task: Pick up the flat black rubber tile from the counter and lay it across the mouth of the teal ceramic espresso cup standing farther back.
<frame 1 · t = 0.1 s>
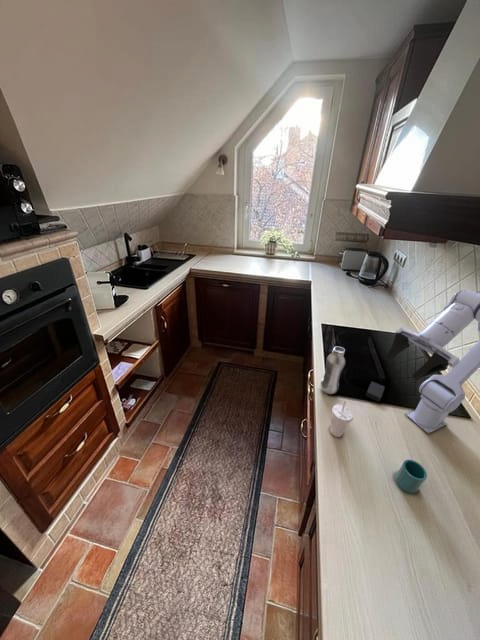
hand: (399, 368, 63), 32 cm above the worktop, tool tilted 50°, fingers open, 7 cm apart
plastic bottle: (328, 390, 100), on the worktop
black tile: (374, 393, 99), on the worktop
teal cup: (406, 483, 70), on the worktop
smoothie: (336, 432, 83), on the worktop
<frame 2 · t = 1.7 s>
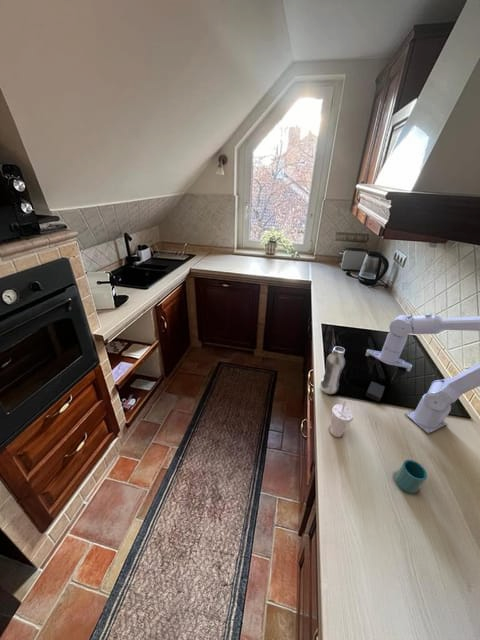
hand: (380, 377, 95), 8 cm above the worktop, tool pointing down, fingers open, 7 cm apart
nothing on the worktop moved.
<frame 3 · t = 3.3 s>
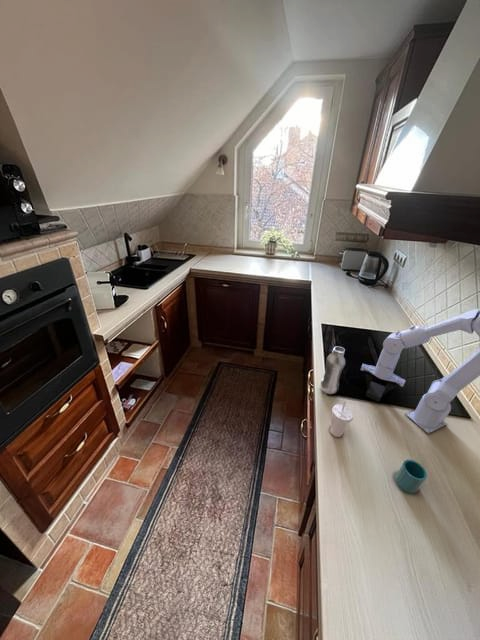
hand: (375, 390, 98), 1 cm above the worktop, tool pointing down, fingers closed on black tile, 5 cm apart
black tile: (374, 393, 99), on the worktop, touching gripper
everything else where it was.
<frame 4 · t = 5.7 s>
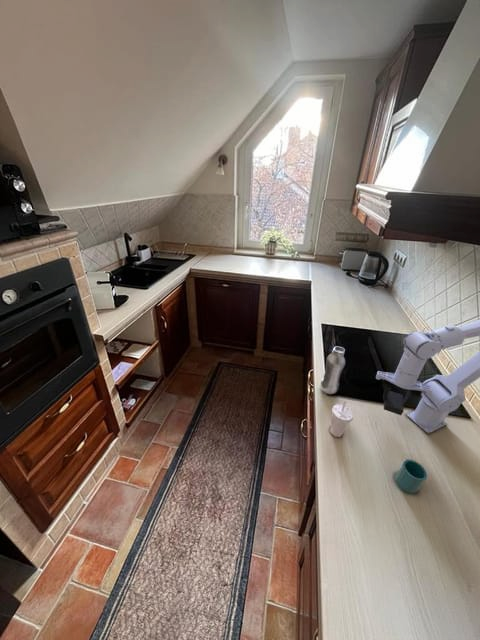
hand: (393, 401, 82), 10 cm above the worktop, tool pointing down, fingers closed on black tile, 5 cm apart
black tile: (392, 404, 83), point 9 cm above the worktop, touching gripper
everything else where it was.
when the fingers open (8 cm above the worktop, at t = 8.3 s): black tile stays where it is, resting on teal cup.
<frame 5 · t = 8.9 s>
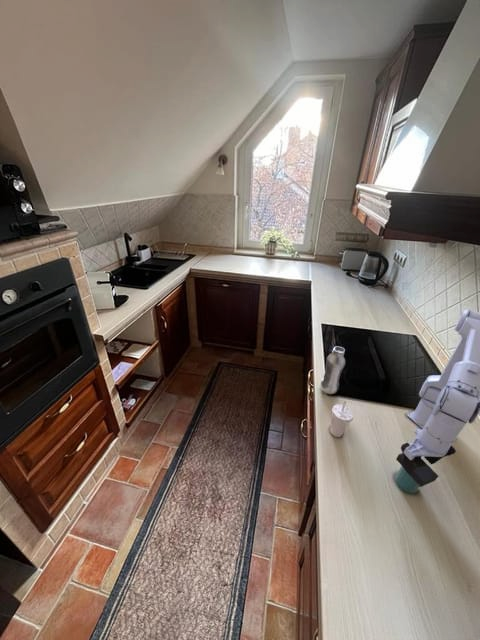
hand: (417, 465, 66), 9 cm above the worktop, tool pointing down, fingers open, 7 cm apart
black tile: (414, 469, 67), point 6 cm above the worktop, touching teal cup
teal cup: (406, 483, 70), on the worktop, touching black tile
everything else where it was.
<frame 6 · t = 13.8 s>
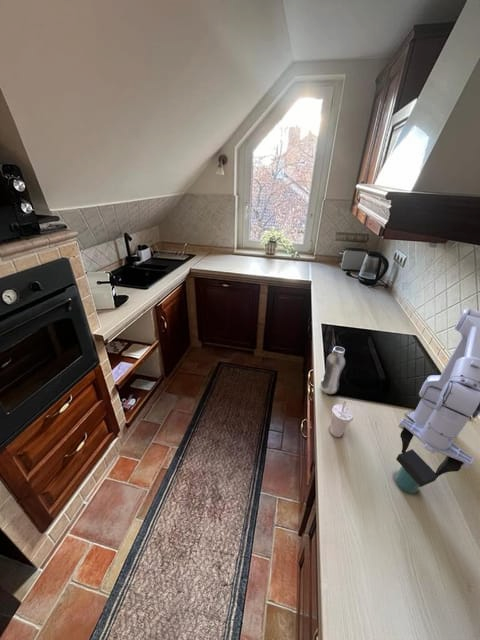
hand: (420, 461, 65), 10 cm above the worktop, tool pointing down, fingers open, 7 cm apart
nothing on the worktop moved.
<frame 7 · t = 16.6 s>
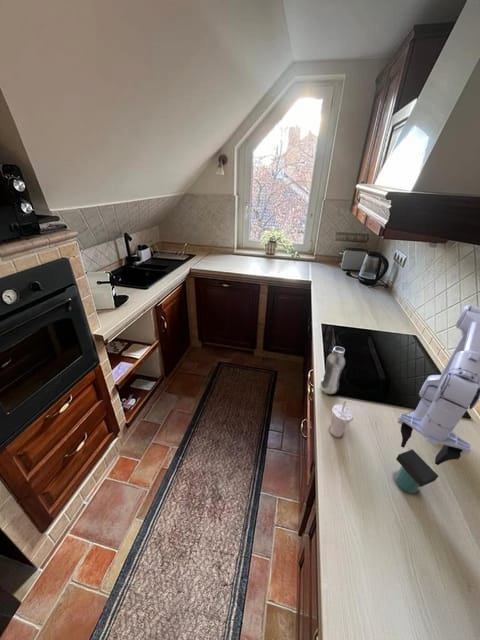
hand: (419, 452, 67), 10 cm above the worktop, tool pointing down, fingers open, 7 cm apart
nothing on the worktop moved.
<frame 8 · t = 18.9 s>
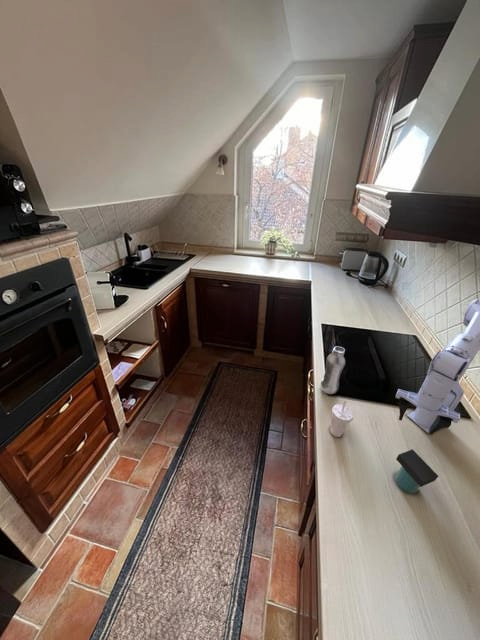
hand: (415, 424, 74), 10 cm above the worktop, tool pointing down, fingers open, 7 cm apart
nothing on the worktop moved.
at the end: black tile 0.1 cm off-centre on the teal cup, point 6.5 cm above the teal cup's base; black tile touching teal cup; teal cup tilted 0° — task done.
